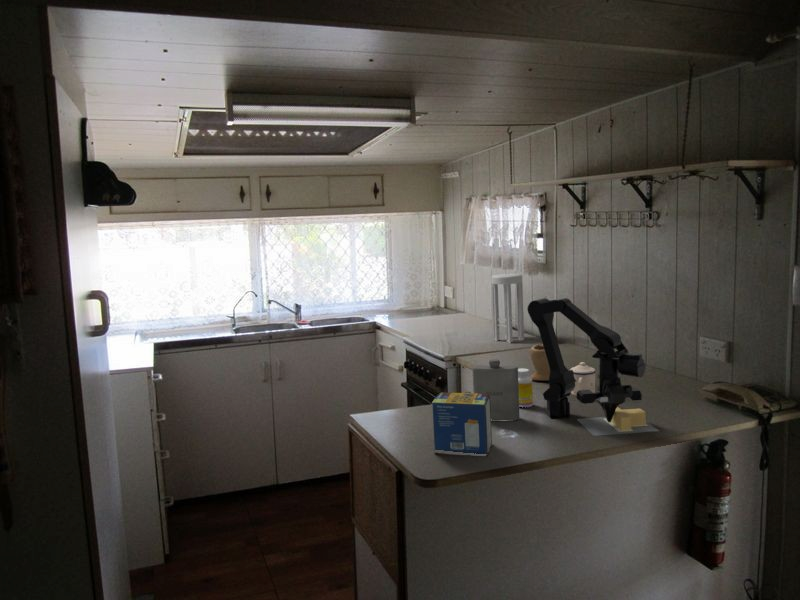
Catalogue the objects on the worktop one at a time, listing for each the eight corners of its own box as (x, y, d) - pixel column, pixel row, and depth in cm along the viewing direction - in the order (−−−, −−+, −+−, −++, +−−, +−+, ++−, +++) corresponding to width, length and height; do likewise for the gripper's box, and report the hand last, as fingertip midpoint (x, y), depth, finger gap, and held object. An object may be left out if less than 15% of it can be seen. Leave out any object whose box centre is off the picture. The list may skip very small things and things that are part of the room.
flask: (472, 420, 209) (470, 361, 207) (475, 415, 215) (473, 357, 212) (518, 422, 205) (516, 362, 202) (520, 416, 210) (518, 358, 208)
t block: (621, 430, 191) (621, 417, 191) (607, 419, 202) (607, 407, 202) (650, 428, 192) (650, 415, 191) (635, 417, 202) (635, 405, 202)
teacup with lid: (572, 389, 239) (571, 359, 237) (597, 390, 235) (596, 360, 234) (567, 398, 228) (566, 366, 226) (593, 400, 224) (593, 367, 223)
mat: (593, 436, 188) (593, 435, 188) (576, 419, 204) (576, 418, 204) (659, 431, 189) (659, 430, 189) (636, 415, 205) (636, 414, 205)
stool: (507, 336, 347) (505, 273, 342) (529, 339, 335) (527, 274, 330) (488, 341, 338) (485, 275, 333) (510, 344, 325) (507, 277, 321)
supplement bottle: (536, 406, 220) (535, 370, 218) (519, 409, 218) (518, 373, 217) (527, 401, 226) (526, 366, 225) (510, 404, 225) (509, 369, 223)
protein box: (441, 441, 192) (439, 391, 190) (492, 444, 187) (490, 393, 185) (433, 454, 182) (431, 402, 180) (487, 457, 177) (484, 403, 175)
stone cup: (526, 383, 251) (525, 346, 249) (533, 376, 261) (532, 340, 259) (565, 385, 244) (564, 347, 242) (571, 378, 255) (570, 341, 253)
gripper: (588, 381, 186) (588, 432, 188) (650, 377, 187) (650, 428, 189) (575, 372, 197) (576, 420, 199) (634, 368, 198) (634, 417, 200)
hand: (609, 421), depth 196 cm, fingers closed
